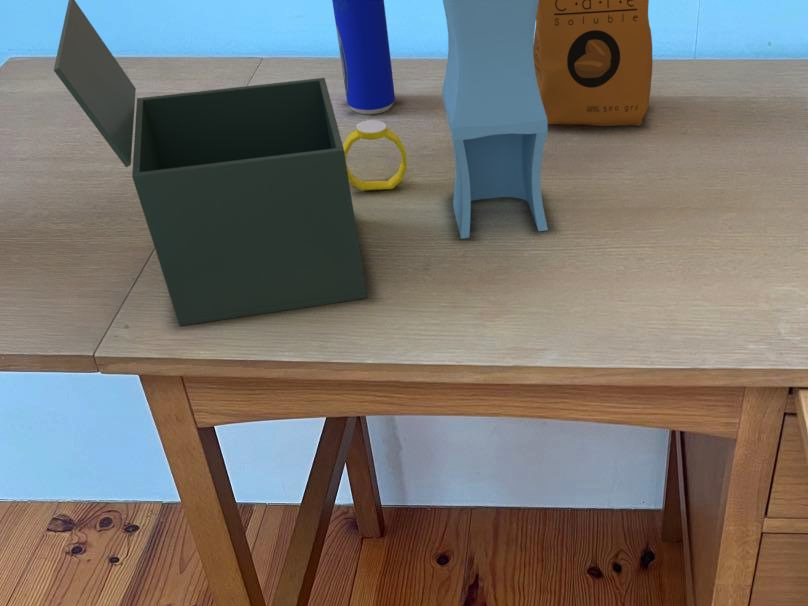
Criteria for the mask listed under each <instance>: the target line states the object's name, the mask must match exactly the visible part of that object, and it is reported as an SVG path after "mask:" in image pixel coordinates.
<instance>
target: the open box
mask: <svg viewBox="0 0 808 606" xmlns="http://www.w3.org/2000/svg"><path fill="white" fill-rule="evenodd" d="M135 106H136V108H135V121H134V122H135V125H134V139H133V140H134V141H133V157H132V169H131V173H132V174H131V178H132V181H133V184H134V186H135V189H136V193H137V196H138V199H139V202H140V203H139V204H140V206H141V209H142V212H143V215H144V218H145V222H146V225H147V228H148V231H149V235H150V237H151V241H152V244H153V246H154V250H155V253H156V256H157V259H158V262H159V266H160V268H161V272H162V275H163V279H164V281H165V282H164V283H165V285H166V288H167V291H168V294H169V298H170V300H171V303H172V307H173V309H174V312H175V316H176V319H177V323H178V325H179V327H181V326H187V325H194V324H201V323H209V322H214V321H215V322H216V321H221V320H228V319H235V318H243V317H250V316H256V315H263V314H269V313H275V312H276V313H277V312H282V311H283V312H285V311H290V310H296V309H303V308H309V307H317V306H323V305H324V306H325V305H331V304H337V303H345V302H350V301H351V302H352V301H359V300H364V299H368V294H367V288H366V282H365V275H364V270H363V269H364V267H363V262H362V256H361V250H360V244H359V237H358V230H357V224H356V219H355V211H354V205H353V199H352V193H351V192H352V191H351V186H350V181H349V179H348V172H347V166H348V165H347V166H346V164H347V159H346V160H345V153H344V148H343V140H342V137H341V134H340V130H339V126H338V123H337V119H336V114H335V112H334V108H333V103H332V100H331V97H330V92H329V88H328V85H327V81H326V78H325V77H318V78H309V79H299V80H292V81H290V80H289V81H281V82H272V83H264V84H263V83H262V84H255V85H254V84H253V85H246V86H237V87H236V86H235V87H226V88H219V89H209V90H200V91H191V92H182V93H173V94H171V93H170V94H163V95H155V96H145V97H137V98H136V105H135Z"/></svg>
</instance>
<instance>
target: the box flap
mask: <svg viewBox="0 0 808 606" xmlns="http://www.w3.org/2000/svg"><path fill="white" fill-rule="evenodd" d="M53 72H54V73H55V74H56V75H57V77H58V79H59V80H60V81H61V82H62V84H63V85H64V86H65V88H66V89H67V90H68V91H69V93H70V95H71V96H72V97H73V99H74V100H75V101H76V103H77V104H78V105H79V107H80V108H81V109H82V111H83V112H84V114H86V116H87V117H88V118H89V120H90V122H92V124H93V125H94V127H95V128H96V129H97V131H98V132H99V133H100V135H101V136H102V138H103V139H104V140H105V141H106V143H107V144H108V145H109V147H110V148H111V150H112V151H113V152H114V154H115V155H116V156H117V157H118V159H119V160H120V161H121V163H122V164H123V166H124V167H125V168H128V167H130V166H131V165H132V153H133V152H132V150H133V136H134V122H135V109H136V108H135V106H136V105H135V104H136V90H137V88H136V87H135V85H134V84H133V82H132V81H131V80H130V78H129V77H128V75H127V73H126V72H125V71H124V70H123V68H122V67H121V65H120V63H119V62H118V60H117V59H116V58H115V56H114V55H113V53H112V51H110V49H109V48H108V46H107V45H106V43H105V41H103V39H102V38H101V36H100V35H99V33H98V32H97V30H96V29H95V27H94V26H93V24H92V23H91V21H89V19H88V17H87V16H86V14H85V13H84V11H83V10H82V9H81V7H80V5H79V4H78V3H77V1H76V0H68V2H67V7H66V11H65V16H64V20H63V24H62V29H61V34H60V39H59V44H58V48H57V52H56V57H55V62H54V66H53Z"/></svg>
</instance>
